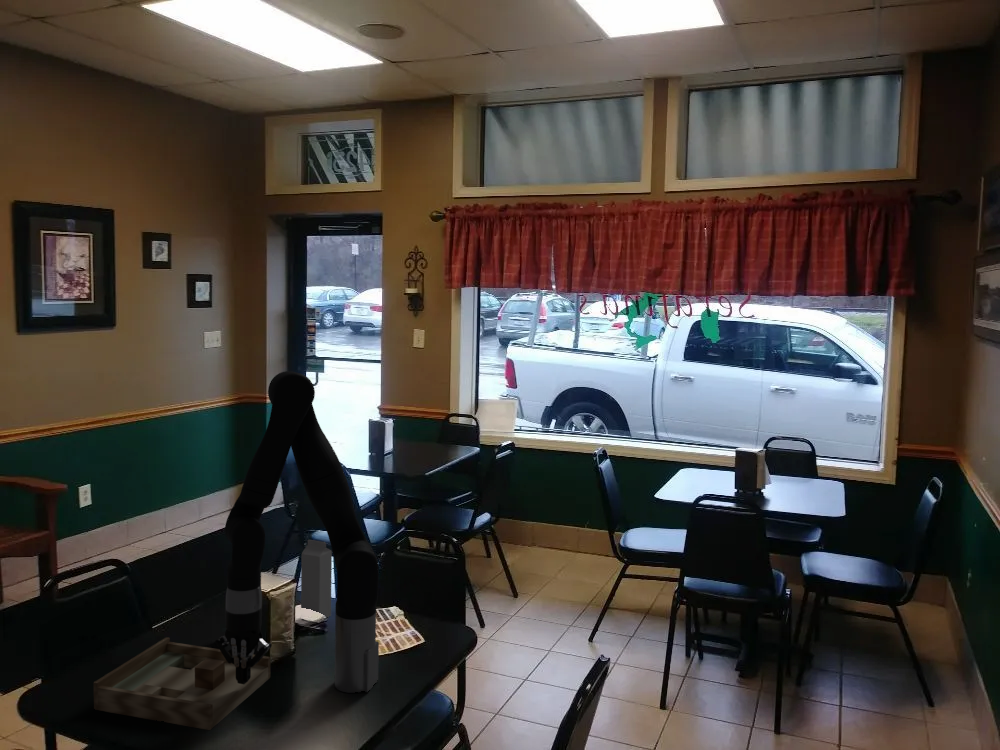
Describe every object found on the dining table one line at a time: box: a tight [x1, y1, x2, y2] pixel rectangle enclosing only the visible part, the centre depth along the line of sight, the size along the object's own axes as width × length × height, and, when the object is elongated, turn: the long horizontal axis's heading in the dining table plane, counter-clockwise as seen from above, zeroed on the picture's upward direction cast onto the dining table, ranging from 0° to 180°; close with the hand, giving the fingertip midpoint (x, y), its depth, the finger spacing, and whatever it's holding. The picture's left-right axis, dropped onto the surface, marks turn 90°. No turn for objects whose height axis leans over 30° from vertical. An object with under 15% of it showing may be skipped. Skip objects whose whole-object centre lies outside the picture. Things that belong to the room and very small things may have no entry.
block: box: [195, 659, 225, 690], centre depth 177 cm, size 4×4×4 cm
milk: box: [300, 539, 333, 618], centre depth 222 cm, size 6×6×22 cm
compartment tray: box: [93, 636, 271, 731], centre depth 179 cm, size 28×24×6 cm
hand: (242, 682), depth 175 cm, fingers closed
